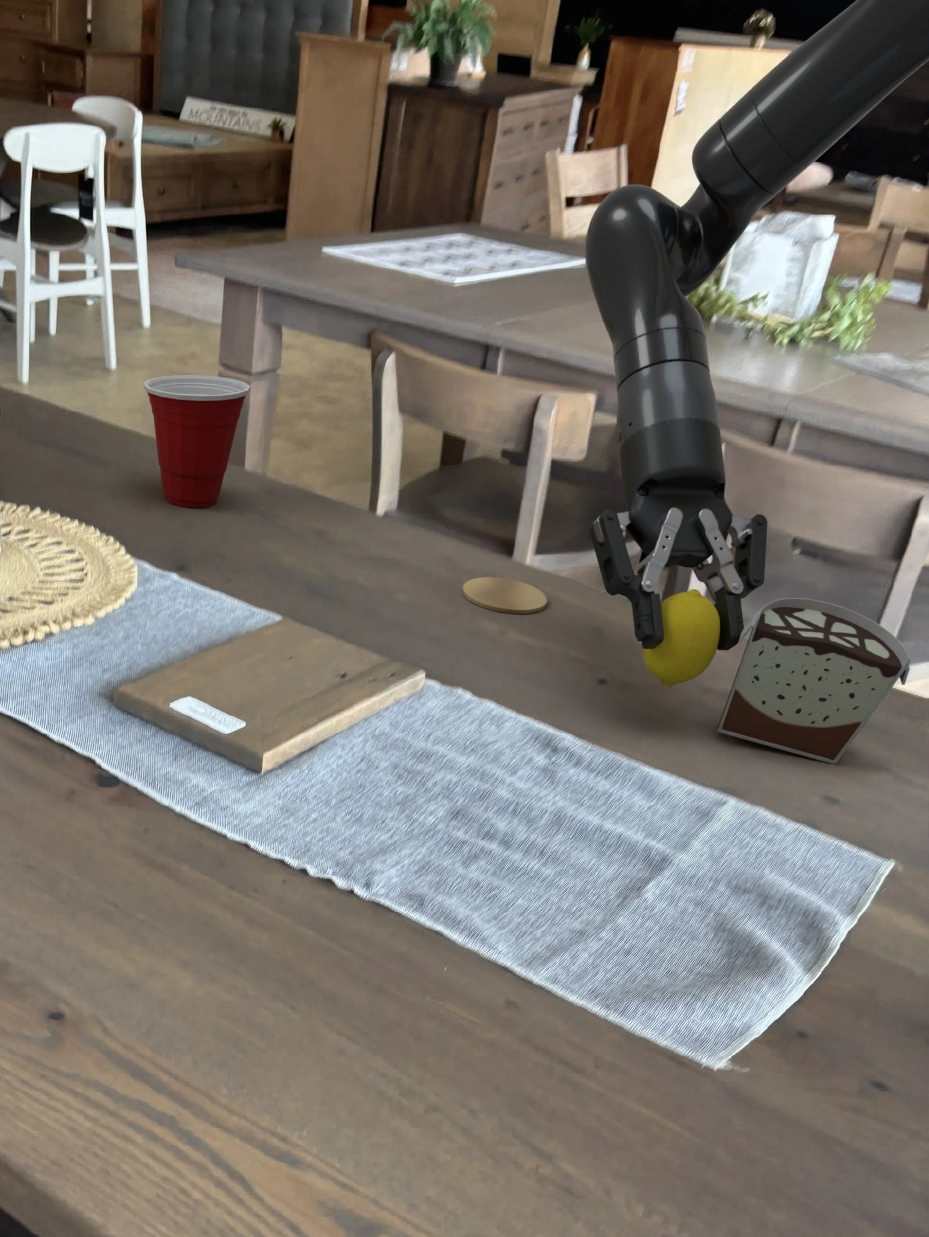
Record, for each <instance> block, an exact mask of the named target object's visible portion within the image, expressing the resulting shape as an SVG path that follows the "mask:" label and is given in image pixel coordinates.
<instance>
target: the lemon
mask: <svg viewBox="0 0 929 1237" xmlns="http://www.w3.org/2000/svg"><path fill="white" fill-rule="evenodd" d="M660 602H661V612H662V621H663V631H664V639H663V642H662V643H661V644H659V645H658V646H657V647H655V648H654V649H643V647H642V646H641V650H642V657H643V661H644V664H645V666H646V668H647V669H648V671H649V672H650V673H651V674H652V675H653V676H654V677H656V678H657V679H659V681H660V682H661V685H662V686H663V687H665V688H672V687H674V686H675V685H677V684H681V683H682V684H683V683H687V682H690V681H692V680H694V679H696V678H698V677H699V676H701V675H702V674H703V673H704V672H705V671H706V670H707V668H708V667H709V666H710V665H711V663H712V661H713V659H714V658H715V656H716V653H717V650H718V649H717V647H718V643H719V637H720V619H719V615H718V612H717V610H716V608H715V607H714V604H713V602H712V601H711V600H710V599H708V598H707V597H706V596H704V595H703V594H702V593H701V591H700V590H699V589H695V588H692V589H689V590H688V591H682V592H677V593H675V594H672V595H670V596H668V597H667V598H665V599H664V600H662V601H660Z"/></svg>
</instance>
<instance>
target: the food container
mask: <svg viewBox="0 0 929 1237" xmlns="http://www.w3.org/2000/svg"><path fill="white" fill-rule="evenodd" d="M749 632H750V634H749ZM748 634H749V637H748V640H747V643H746V646H745V648H744V650H743V653H742V654H743V655H742V657H741V658H740V659H741V660H740V662H739V665H738V669H737V671H736V674H735V676H734V680H733V682H732V685H731V687H730V690H729V691H730V692H729V694H728V697H727V699H726V702H725V705H724V708H723V711H722V713H721V717H720V719H719V722H718V725H717V730H716V731H717V732H718V733H721V734H725V735H728V736H732V737H735V738H738V739H742V740H746V741H750V742H752V743H757V744H760V745H764V746H768V747H771V748H774V749H779V750H782V751H786V752H789V753H792V754H797V755H800V756H802V757H803V756H804V757H807V758H811V759H814V760H818V761H822V762H824V763H828V764H831V765H837V763H838V762H839V760H840V759H841V757H842V756H843V755H844V753H845V752H846V751H847V749H848V748H849V746H850V745H851V744H852V743H853V741H854V740H855V738H857V736H858V734H859V733H860V732H861V730H862V729H863V728H864V726H865V725H866V723H867V722H868V721H869V720H870V718H871V716H872V715H873V714H874V713H875V711H876V710H877V708H878V707H879V706H880V705H881V703H882V702H883V700H884V699H885V698H886V696H887V695H888V694H889V692H890V691H891V690H892V688H893V687H894V685H895V684H896V683H897V682H898V680H900V682H901V683H900V684H901V685H902V686H905V685H906V682H907V679H908V675H909V673H910V669H911V668H910V663H911V660H912V659H911V656H910V653H909V652H908V650H907V649H906V647H905V646H904V644H903V643H902V642H901V641H900V640H899V639H898V637H896V636H895V635H894V634H892V632H890V631H889V630H887V629H886V628H885V627H883V626H882V625H880V624H879V623H878V622H876V621H874V620H873V619H870V618H869V617H867V616H865V615H862V614H861V613H858V612H856V611H854V610H851V609H849V608H847V607H843V606H841V605H838V604H834V603H831V602H827V601H822V600H818V599H813V598H805V597H804V598H802V597H786V598H785V597H784V598H779V599H775V600H772V601H770V602H768V603H766V604H765V605H763V606H762V607H761V609H758V610H757V612H756V613H755V614H754V615H753V616H752V617H751V619H750V620H749V621H748V622H747V624H746V625H744V629H743V631H742V633H741V635H740V639H739V642H740V641H741V642H742V641H743V640H744V639H745V638H746V637H747V635H748Z"/></svg>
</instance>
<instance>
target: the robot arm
mask: <svg viewBox="0 0 929 1237" xmlns="http://www.w3.org/2000/svg"><path fill="white" fill-rule="evenodd" d="M928 61H929V0H854V2H853V3H851V4H850V5H849V6H848V7H847V8H845V9H844V10H843V11H841V12H840V13H839V14H838V15H837V16H835V17H834V18H832V19H831V20H830V21H829V22H828V23H827V24H825V25H824V26H823V27H822V28H821V29H819V30H817V32H815V33H814V34H812V35H811V36H810V37H809V38H808V39H807V40H805V41H804V42H803V43H802V44H800V45H799V46H798V47H796V48H795V49H794V50H792V52H790V53H789V54H788V55H787V56H786V57H784V58H783V59H782V60H781V61H780V62H778V64H777V65H775V66H773V68H772V69H771V70H770V71H769V72H768V73H766V74H765V75H764V76H763V77H762V78H761V79H759V81H757V82H756V83H755V84H754V85H753V86H752V87H751V88H750V89H749V90H748V91H747V92H746V93H745V94H744V95H743V96H742V97H741V98H740V99H739V100H737V102H735V103H734V104H733V105H732V106H731V107H730V108H729V109H728V110H727V111H726V112H725V113H724V114H723V115H722V116H720V118H718V119H717V120H716V121H715V122H714V123H713V124H712V125H711V126H710V127H709V128H708V129H707V130H706V131H705V132H703V135H702V136H701V137H700V138H699V139H698V141H697V142H696V143H695V145H694V148H693V149H692V154H691V164H692V170H693V172H694V175H695V178H696V179H697V181H698V186H697V187H696V188H695V190H694V192H693V193H692V195H691V196H690V198H689V199H688V200H686V202H685V203H683V205H681V206H680V205H679V204H677V203H676V202H674V201H673V200H672V199H670V198H668V197H667V196H666V195H664V194H663V193H661V192H660V191H658V190H656V189H655V188H653V187H650V186H649V185H648V186H647V185H644V184H639V183H638V184H637V183H636V184H627V185H622V186H620V187H618V188H616V189H615V190H613V191H612V192H610V193H609V194H607V196H605V198H603V199H602V200H601V202H600V203H599V205H598V206H597V208H595V211H594V213H593V215H592V217H591V219H590V221H589V224H588V227H587V232H586V236H585V242H584V243H585V245H584V246H585V247H584V258H585V266H586V267H585V268H586V272H587V276H588V281H589V283H590V288H591V290H592V293H593V297H594V300H595V303H596V305H597V309H598V311H599V314H600V317H601V320H602V322H603V325H604V328H605V330H606V332H607V334H608V337H609V339H610V342H611V345H612V346H611V347H612V356H613V366H614V376H615V384H616V398H617V402H616V403H617V404H616V430H617V431H616V440H617V443H618V449H619V450H618V451H619V460H620V461H619V462H620V469H621V481H622V489H623V499H624V502H625V504H626V509H625V511H624V512H616V511H615V509H612V508H606V509H605V510H604V511H602V513H601V514H600V515H599V516H598V517H597V518H595V520H594V521H593V522H592V523H591V524H590V526H589V527H588V528H589V529H588V530H589V534H590V538H591V542H592V545H593V548H594V549H593V550H594V554H595V557H596V560H597V563H598V568H599V571H600V574H601V575H600V576H601V579H602V581H603V585H604V589H605V592H606V593H607V594H608V595H610V596H617V595H620V596H622V597H624V598H626V599H628V601H629V602H630V604H631V610H632V620H633V630H634V637H635V638H636V640H637V642H641V648H642V647H643V649H654V648H655V647H657V646H658V645H659V644H661V643H662V642H663V639H664V631H663V621H662V612H661V602H662V601H661V594H660V593H656V592H655V591H656V590H657V588H658V585H659V582H660V579H661V576H662V572H663V570H664V568H669V567H671V566H678V567H683V568H687V569H689V568H691V569H692V570H691V571H693V574H694V576H695V577H696V579H697V580H698V581H699V582H700V583H703V584H704V586H705V587H706V589H707V591H708V593H709V595H710V597H711V598H712V601H713V603H714V604H713V605H714V607H715V608H716V610H717V612H718V615H719V619H720V637H719V643H718V647H717V650H718V651H730V650H731V649H732V648H734V647H735V646H736V645H738V644H739V642H740V635H741V633H742V631H743V629H744V628H745V625H744V618H743V617H744V616H743V608H742V599H745V598H746V597H748V596H749V595H750V594H751V593H752V592H754V591H755V590H756V589H758V588H760V587H761V586H763V585H764V582H765V574H766V573H765V572H766V557H767V556H766V554H767V536H768V535H767V534H768V520H767V517H766V516H765V515H763V514H761V513H757V514H755V515H754V516H753V517H752V518H747V517H742V516H739V515H738V516H737V515H733V512H732V510H731V508H730V507H729V505H728V503H727V502H726V498H725V492H726V490H725V489H726V470H725V469H726V468H725V461H724V453H723V445H722V444H723V443H722V435H721V428H720V426H721V425H720V420H719V419H720V418H719V417H720V416H719V408H718V401H717V396H716V393H715V389H714V386H713V381H712V378H711V370H710V361H709V354H708V352H709V351H708V344H707V337H706V330H705V325H704V321H703V319H702V315H701V314H700V312H699V311H698V309H697V308H696V307H695V306H694V305H693V304H692V303H691V302H690V300H689V299H688V298H687V297H688V296H690V295H691V294H693V293H694V292H695V291H696V290H698V289H699V288H701V287H702V285H703V284H704V283H706V281H707V280H708V279H709V278H710V277H711V276H712V274H714V272H715V271H716V269H717V268H718V267H719V265H720V264H721V263H722V261H723V260H724V258H725V257H726V256H727V255H728V253H729V252H730V251H731V249H732V248H733V246H734V245H735V244H736V243H737V242H738V240H739V239H740V238H741V237H742V235H743V234H744V232H745V231H746V229H747V228H748V227H749V225H750V224H751V222H752V221H753V220H754V218H755V216H756V215H757V214H758V212H759V211H760V210H761V208H762V207H764V205H766V204H767V203H768V202H770V201H771V200H772V199H773V198H775V196H777V195H778V194H779V193H781V191H782V190H784V189H785V188H786V187H787V186H788V185H790V184H791V183H792V182H793V181H794V180H795V179H796V178H798V177H799V176H800V175H801V174H802V173H803V172H804V171H805V170H807V169H808V168H809V167H811V165H813V163H814V162H816V161H817V160H818V159H819V158H820V157H821V156H822V155H824V154H825V153H826V152H827V151H828V150H829V149H830V148H831V147H832V146H834V145H835V144H836V143H837V142H838V141H839V140H840V139H841V138H843V137H844V136H845V135H846V134H847V133H848V132H849V131H850V130H851V129H852V128H854V127H855V126H856V125H857V124H858V123H859V122H860V121H861V120H863V118H864V117H866V115H867V114H869V113H870V112H871V111H872V110H873V109H875V108H876V106H878V105H879V104H880V103H881V102H883V100H884V99H885V98H887V97H888V96H889V95H890V94H891V93H892V92H893V91H894V90H895V89H897V88H898V87H899V86H900V85H901V84H902V83H904V81H906V80H907V79H908V78H909V77H910V76H912V75H913V74H914V73H915V72H916V71H918V70H919V69H920V68H921V67H923V65H925V64H926V63H927V62H928ZM627 533H628V534H629V535H630V537H631V538H632V540H634V542H635V543H636V545H637V546H638V547H639V548H640V550H639V553H638V556H637V558H636V562H635V564H634V568H633V565H632V563H631V559H630V556H629V551H628V548H627V544H626V541H625V537H626V536H627ZM726 533H728V534H729V537H730V538H731V542H730V546H731V547H732V548H734V550H735V552H734V554H733V553H732V550H731V549H730V547H729V545H728V544H727V541H726V540H725V536H726ZM710 557H712V561H711V562H709V560H708V559H710Z"/></svg>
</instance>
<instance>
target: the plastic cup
mask: <svg viewBox="0 0 929 1237" xmlns="http://www.w3.org/2000/svg"><path fill="white" fill-rule="evenodd" d="M142 385H143V388H144V390H145V391H146V393H147V396H148V400H149V404H150V407H151V413H152V415H153V426H154V433H155V442H156V450H157V451H156V452H157V460H158V466H159V471H160V481H161V483H160V484H161V491H162V492H163V498H164V499H165V501H167V503H168V502H169V503H170V504H173V505H176V506H180V507H183V508H192V509H193V508H196V509H197V508H198V509H200V508H201V509H203V508H208V507H212V506H214V505H216V504H217V502H218V499H219V496H220V495H221V494H220V493H221V490H222V486H223V482H224V478H225V477H224V476H225V474H226V471H227V468H228V464H229V460H230V456H231V451H232V447H233V443H234V439H235V435H236V431H237V425H238V422H239V419H240V417H241V412H242V409H243V407H244V401H245V399H246V396H247V395H248V393H249V392H250V388H251V386H250V385H249V384H248V383H246V381H241V380H238V379H234V378H230V377H223V376H215V375H202V374H201V375H199V374H178V375H177V374H176V375H166V376H157V377H154V378H150V379H146V380H145V382H144V383H143V384H142Z"/></svg>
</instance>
